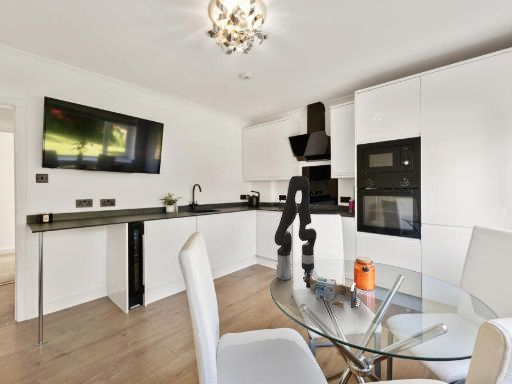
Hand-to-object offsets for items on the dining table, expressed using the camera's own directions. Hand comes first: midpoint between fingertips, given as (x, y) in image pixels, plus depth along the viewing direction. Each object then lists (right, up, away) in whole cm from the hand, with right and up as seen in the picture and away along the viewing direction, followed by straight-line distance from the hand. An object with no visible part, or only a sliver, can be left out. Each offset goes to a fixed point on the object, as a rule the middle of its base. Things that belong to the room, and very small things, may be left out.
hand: (308, 287), depth 151 cm
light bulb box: (+10, -4, -5) cm, 11 cm away
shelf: (+12, -4, -5) cm, 13 cm away
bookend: (+24, -4, -12) cm, 28 cm away
